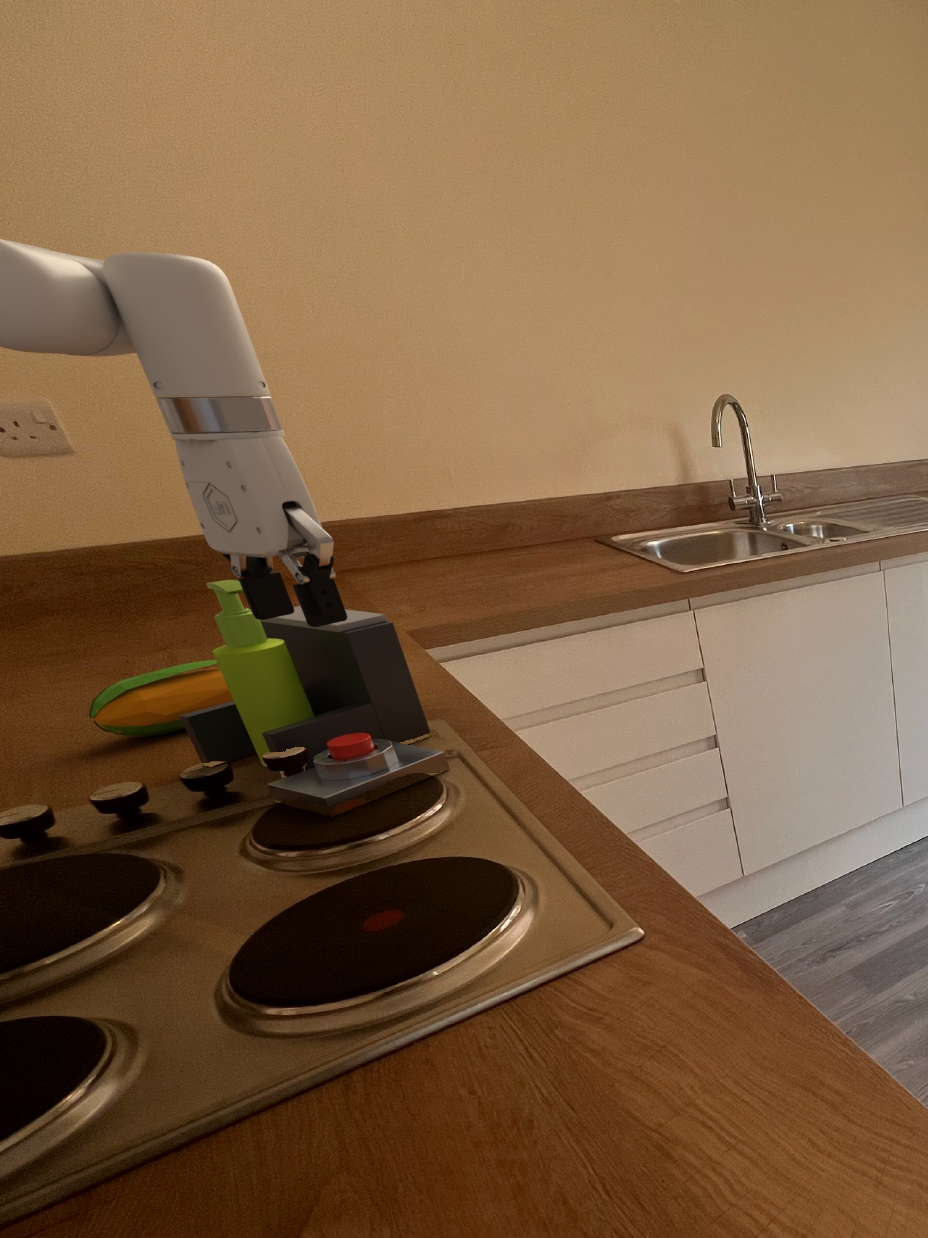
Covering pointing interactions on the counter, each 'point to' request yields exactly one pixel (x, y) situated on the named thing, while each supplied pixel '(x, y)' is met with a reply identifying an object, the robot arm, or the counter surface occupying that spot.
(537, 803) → the counter surface
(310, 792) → the button block
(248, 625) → the soap dispenser
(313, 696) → the coffee maker
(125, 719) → the corn
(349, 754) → the button
